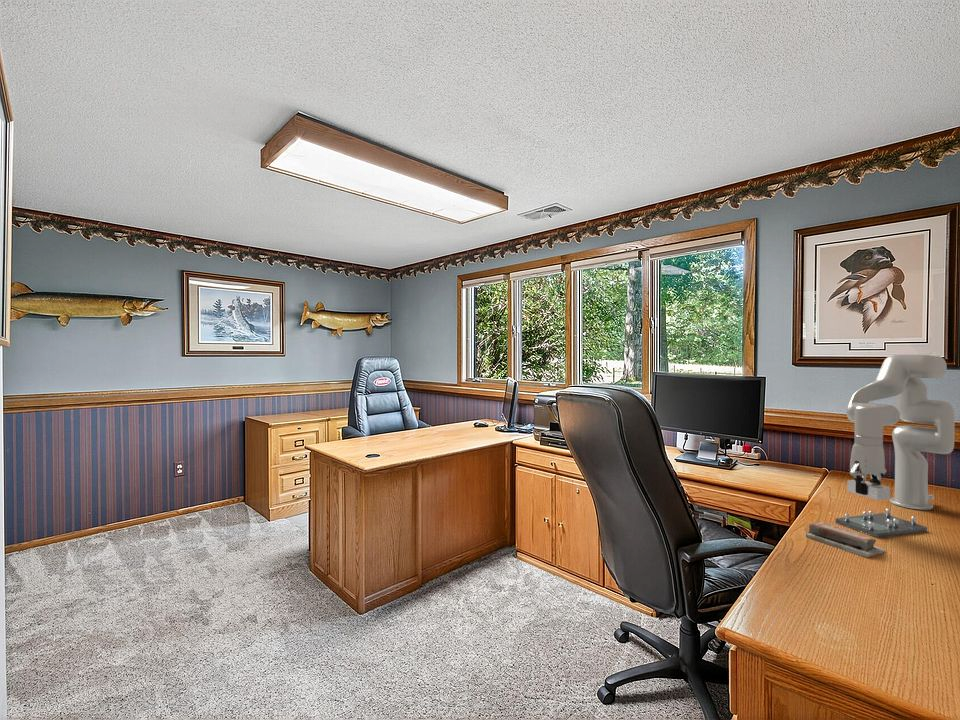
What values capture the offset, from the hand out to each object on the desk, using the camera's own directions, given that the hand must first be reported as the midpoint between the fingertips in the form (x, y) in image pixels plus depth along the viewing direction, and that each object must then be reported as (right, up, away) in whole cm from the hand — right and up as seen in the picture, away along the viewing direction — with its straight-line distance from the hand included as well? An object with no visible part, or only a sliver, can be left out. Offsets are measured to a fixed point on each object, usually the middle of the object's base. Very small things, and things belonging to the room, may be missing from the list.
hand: (868, 492), depth 158 cm
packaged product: (-18, -14, -12) cm, 26 cm away
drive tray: (+5, -12, +2) cm, 14 cm away
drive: (0, -1, 0) cm, 1 cm away
